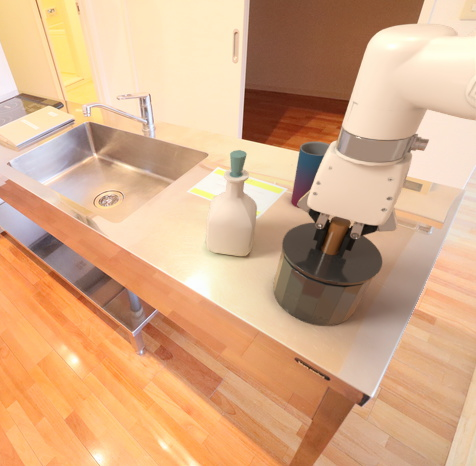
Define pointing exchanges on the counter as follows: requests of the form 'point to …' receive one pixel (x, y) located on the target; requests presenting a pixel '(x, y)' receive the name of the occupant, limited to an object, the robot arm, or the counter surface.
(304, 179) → the cup
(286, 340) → the counter surface
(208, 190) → the counter surface
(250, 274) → the counter surface
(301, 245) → the lid
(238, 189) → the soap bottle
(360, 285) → the pot
